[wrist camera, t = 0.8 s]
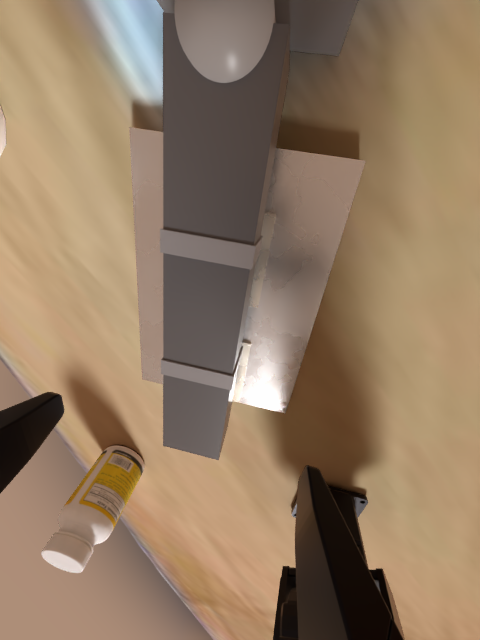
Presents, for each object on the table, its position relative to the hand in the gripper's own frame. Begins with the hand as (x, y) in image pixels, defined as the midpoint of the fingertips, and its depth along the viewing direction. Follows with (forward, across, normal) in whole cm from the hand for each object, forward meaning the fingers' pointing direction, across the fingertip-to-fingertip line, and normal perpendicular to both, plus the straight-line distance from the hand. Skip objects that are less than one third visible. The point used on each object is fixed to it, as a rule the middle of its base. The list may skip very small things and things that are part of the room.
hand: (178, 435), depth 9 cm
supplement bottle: (+12, +10, +23) cm, 28 cm away
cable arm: (+11, +1, -3) cm, 12 cm away
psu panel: (+12, +1, -1) cm, 12 cm away
